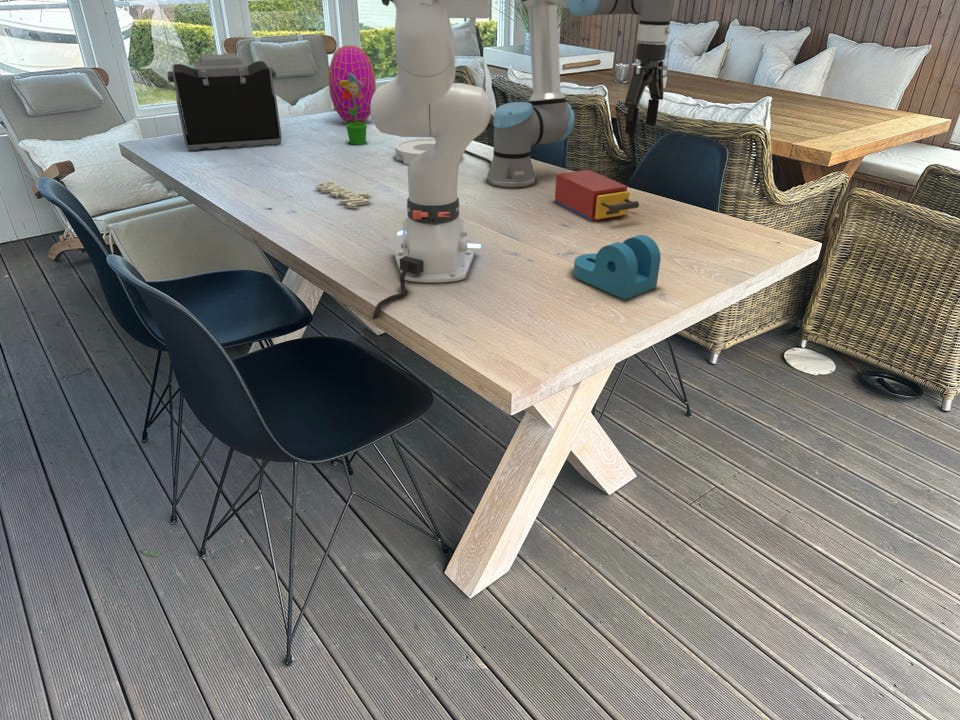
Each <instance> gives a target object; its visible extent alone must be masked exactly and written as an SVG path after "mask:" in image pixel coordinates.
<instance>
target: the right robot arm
mask: <svg viewBox="0 0 960 720" xmlns="http://www.w3.org/2000/svg"><path fill="white" fill-rule="evenodd" d="M673 4H674V0H522V5H524V7H526V9H527V12H528V14H527V15H528V28H529V29H528V31H529V46H530V63H531V64H530V65H531V79H532V80H531V81H532V95H531V96H530V98H529V99H528V102H527V101H516V102H515V101H513V102H507V103H504V104H501V105H499V106H498V107H496V109H495V111H494V117H493V124H492V125H493V157H492V160H490V159H489V158H487V157H484V156H481V155H479V154H477V153H474V152H471V151H469V150H467V149H465V151H464V153H466V154H468V155H472V156H473V157H476V158H478V159H480V160H484V161H486V162H488V163H489V165H490V167H489V170H488V171H487V177H486V178H487V179H486V181H487V183H488V184H490V185H491V186H495V187H498V188H499V187H500V188H505V189H506V188H508V189H517V188H519V189H521V188H526V187H530V186H533V185H534V184H535V183H536V174H535V172H534V167H533V162H532V159H531V153H532V151H531V150H532V147H533V146H540V145H546V144H556V143H558V142H562V141H565V140H566V139H567V138H569V136H570V134H571V133H572V132H573V129H574V125H575V111H574V109H572V108H573V107H572V106H571V104H569V103H568V102H567V97H566V95H564V93H563V92H562V90H561V71H560V69H561V68H560V48H559V26H558V25H559V23H558V6H560V7H562V8H565V9H567V10H568V11H569V12H570V14H572V15H573V16H581V17H587V16H602V15H605V16H607V15H633V16H634V15H637V16H639V22H638V29H637V38H636V40H637V41H638V43H637V44H636V48H635V55H634V57H635V59H636V60H639V61H640V63H639V65H634V66H633V72H632V75H631V76H632V77H631V80H630V83H629V87H628V91H627V93H626V97H625V100H624V105H623V106H624V108H627V111H626V112H627V114H626V122H625V131H624V133H625V134H629V135H636V134H637V126H638V119H639V110H640V107H638V106H639V104H640V101H641V99H642V98H643V94H644V91H645V89H646V87H647V86H648V91H649V96H650V98H649V99H648V103H647V110H646V116H645V117H646V119H645V125H648V126H656V125H657V119H658V112H659V104H660V101H663V100H664V94H665V93H664V61H665V59H666V56H667V55H666V54H667V48H668V46H667V44H666V43H667V42H668V38H669V34H670V33H671V29H670V24H671V17H672V11H673Z"/></svg>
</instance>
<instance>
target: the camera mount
mask: <svg viewBox="0 0 960 720" xmlns="http://www.w3.org/2000/svg"><path fill="white" fill-rule="evenodd" d="M661 258H662V257H661V250H660V248H659V245H658V244H657V242H655V240H654V239H653V238H651V237H650V236H648V235H647V234H638V235H635V236H631V237H629V238H626V239H625V240H624V241H623V242H621V241H620V242H619V241H618V242H614V243H613V242H612V243H610V244H607V245H605V246H602V247H600V249H599V250H598V251H597V252H596V253H585V254H580V255H578V256H576V257H575V259H574V263H573V276H574V277H575V279H577V280H579V281H581V282H583V283H585V284H588V285H590V286H592V287H595V288H597V289H599V290H601V291H603V292H606V293H607V294H610V295H611V296H612V295H613V296H615V297H617V298H619V299H621V300H623V301H625V300H627V299H630V298H633V297H635V296H638V295H640V294H643V293H645V292H647V291H650V290H653V289H655V288H657V286H658V285H657V284H658V279H659V273H660V266H661V260H662V259H661Z"/></svg>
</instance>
